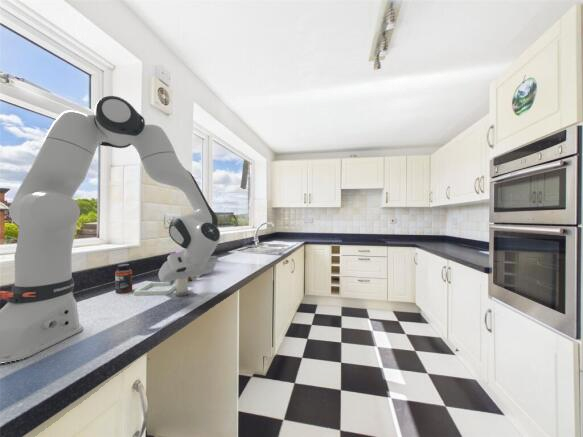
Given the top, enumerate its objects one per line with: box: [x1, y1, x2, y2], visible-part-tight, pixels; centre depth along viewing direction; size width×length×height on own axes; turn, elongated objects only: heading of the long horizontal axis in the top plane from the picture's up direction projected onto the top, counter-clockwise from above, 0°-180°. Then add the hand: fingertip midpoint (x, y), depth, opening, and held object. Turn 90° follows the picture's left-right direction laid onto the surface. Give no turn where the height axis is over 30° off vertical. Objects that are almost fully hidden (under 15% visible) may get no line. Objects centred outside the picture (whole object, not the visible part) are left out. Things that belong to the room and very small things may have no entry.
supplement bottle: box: [114, 263, 133, 294], centre depth 104 cm, size 6×6×11 cm
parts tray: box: [133, 281, 176, 296], centre depth 103 cm, size 13×13×2 cm
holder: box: [165, 289, 199, 302], centre depth 97 cm, size 9×9×1 cm
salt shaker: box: [175, 277, 189, 297], centre depth 97 cm, size 4×4×10 cm
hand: (182, 280), depth 97 cm, fingers open, 8 cm apart
